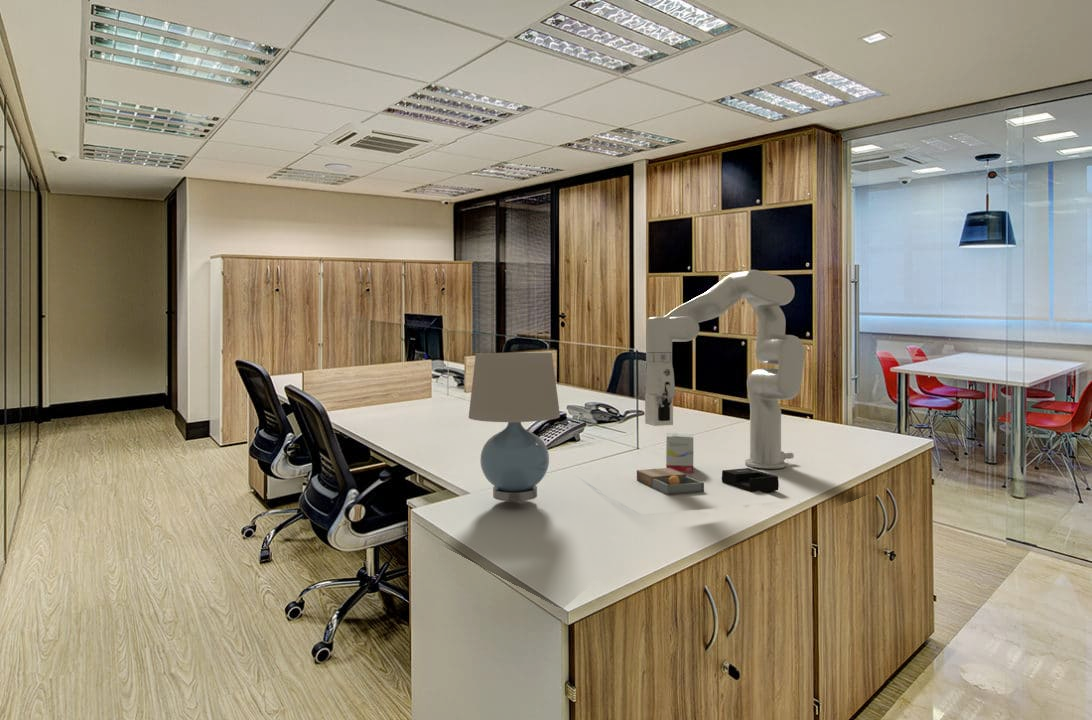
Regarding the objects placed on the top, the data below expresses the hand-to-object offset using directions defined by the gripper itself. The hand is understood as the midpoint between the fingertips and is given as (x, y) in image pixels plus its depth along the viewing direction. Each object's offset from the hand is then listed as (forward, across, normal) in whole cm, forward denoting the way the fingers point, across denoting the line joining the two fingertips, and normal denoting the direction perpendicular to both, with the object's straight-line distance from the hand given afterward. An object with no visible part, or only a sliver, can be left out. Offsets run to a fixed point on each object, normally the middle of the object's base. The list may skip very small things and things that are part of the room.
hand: (659, 418), depth 182 cm
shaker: (+2, 0, 0) cm, 2 cm away
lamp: (+19, -3, +45) cm, 49 cm away
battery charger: (+19, -13, -22) cm, 32 cm away
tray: (+19, -10, 0) cm, 21 cm away
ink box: (+19, +12, -14) cm, 26 cm away
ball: (+17, -9, 0) cm, 19 cm away
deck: (+19, -1, 0) cm, 19 cm away
